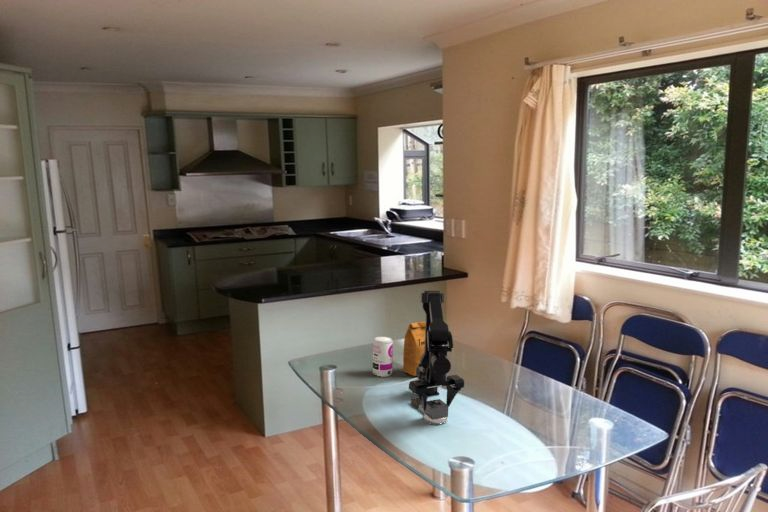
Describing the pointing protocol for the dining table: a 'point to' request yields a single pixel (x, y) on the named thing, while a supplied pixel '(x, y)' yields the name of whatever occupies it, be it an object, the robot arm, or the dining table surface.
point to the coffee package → (413, 347)
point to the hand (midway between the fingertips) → (436, 408)
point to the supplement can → (382, 356)
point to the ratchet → (417, 404)
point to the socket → (436, 409)
